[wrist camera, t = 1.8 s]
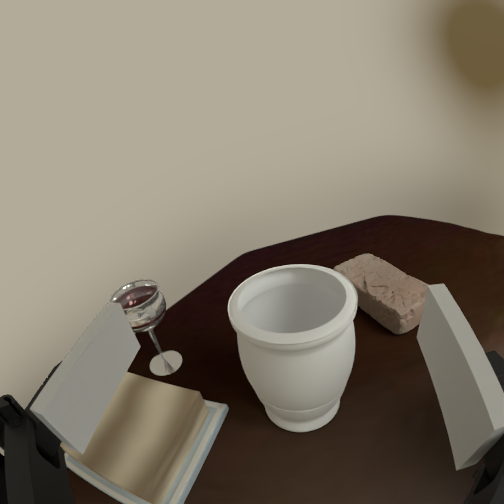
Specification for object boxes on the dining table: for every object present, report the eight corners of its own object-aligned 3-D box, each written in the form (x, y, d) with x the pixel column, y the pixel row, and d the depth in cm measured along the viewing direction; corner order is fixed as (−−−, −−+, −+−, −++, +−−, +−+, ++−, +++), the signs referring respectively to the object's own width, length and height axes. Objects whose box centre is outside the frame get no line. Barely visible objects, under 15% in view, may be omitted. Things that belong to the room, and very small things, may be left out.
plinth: (209, 412, 29) (199, 391, 28) (159, 507, 19) (140, 496, 17) (124, 386, 34) (110, 366, 32) (72, 458, 23) (52, 440, 21)
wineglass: (191, 345, 42) (165, 275, 36) (184, 380, 36) (150, 308, 30) (150, 347, 42) (120, 281, 37) (138, 380, 36) (100, 312, 31)
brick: (330, 288, 49) (329, 264, 47) (367, 271, 51) (367, 248, 49) (398, 342, 35) (403, 316, 33) (435, 316, 37) (441, 290, 35)
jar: (368, 405, 27) (385, 296, 21) (288, 459, 24) (270, 366, 17) (311, 355, 36) (303, 251, 30) (240, 394, 32) (207, 292, 26)
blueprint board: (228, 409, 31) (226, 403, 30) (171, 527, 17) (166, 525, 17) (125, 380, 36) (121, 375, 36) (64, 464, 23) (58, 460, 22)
